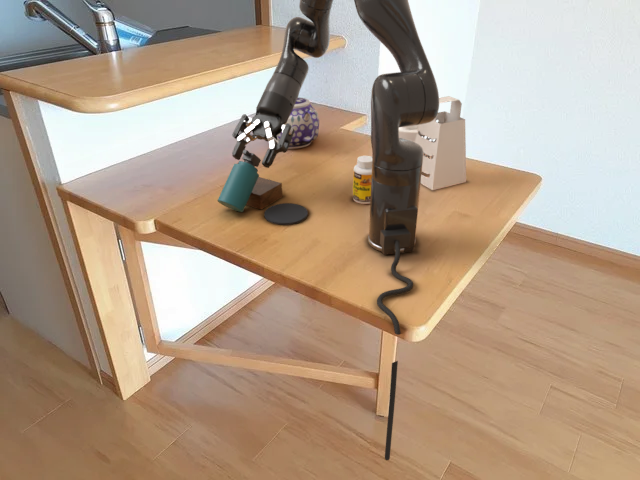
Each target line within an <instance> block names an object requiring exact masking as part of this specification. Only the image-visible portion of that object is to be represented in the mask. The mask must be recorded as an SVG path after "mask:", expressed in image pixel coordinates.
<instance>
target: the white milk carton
mask: <svg viewBox="0 0 640 480" xmlns="http://www.w3.org/2000/svg"><path fill="white" fill-rule="evenodd" d="M418 126H419V125H413V126H406V127H399V138H402V139H406V140H410V141H413V142H415V139H416V134H417V130H418Z"/></svg>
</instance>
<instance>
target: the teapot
mask: <svg viewBox="0 0 640 480" xmlns="http://www.w3.org/2000/svg"><path fill="white" fill-rule="evenodd" d="M287 123H289V124H290V125H291V126H292V127H293V128H294V130H295V132H294V134H293V137H292V139H291V142H290V145H289V147H288V150H289V149H292V150H293V149H301V148H305V147H308V146H310V145H311V144H312V142H314V141H316V140H317V138H318V136H319V132H320V117H319V113H318V111H317V109H316V108H315V107H314V106H313V105H312V104H311V101H310V100H309V99H308V98H306V97H299V96H298V98H297V101H296V103H295V105H294V107H293V110H292V112H291V114H290V116H289V118H288V121H287ZM287 123H286V124H287ZM286 124H284V125H286ZM281 135H282V132H281V133H280V134H278V140H280V137H281Z"/></svg>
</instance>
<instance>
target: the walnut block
mask: <svg viewBox="0 0 640 480" xmlns="http://www.w3.org/2000/svg"><path fill="white" fill-rule="evenodd" d="M281 198H283V183H282V182H279V181H275V180H271V179H269V178H264V177H261V176H259V177H258V179H257V181H256V184H255V186H254V188H253V190H252V192H251V195H250V197H249V199H248V201H247V204H246V206H248V207H252V208H255V209H258V210H263V209H264V208H266V207H268V206H269V205H271V204H272V203H275V202H276V201H277V200H279V199H281Z"/></svg>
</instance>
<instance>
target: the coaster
mask: <svg viewBox="0 0 640 480" xmlns="http://www.w3.org/2000/svg"><path fill="white" fill-rule="evenodd" d="M263 214H264V218H265V220H266V221H267V222H268V223H271V224H275V225H279V226H289V225H290V226H291V225H295V224H299V223H301V222H303V221H304V220H306V219H307V218H308V214H309V212H308V209H307V208H306V207H305V206H303V205H301V204H298V203H290V202H284V203H276V204H273V205H271V206H269V207H267V208H266V209H265V210H264V213H263Z"/></svg>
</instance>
